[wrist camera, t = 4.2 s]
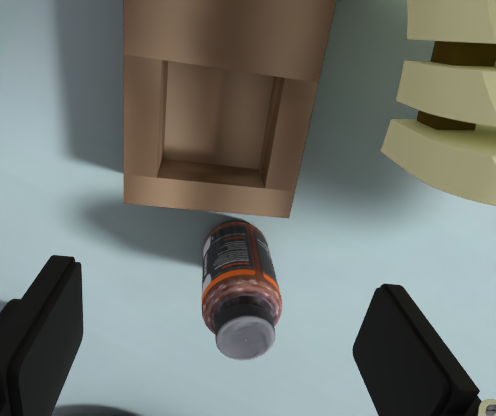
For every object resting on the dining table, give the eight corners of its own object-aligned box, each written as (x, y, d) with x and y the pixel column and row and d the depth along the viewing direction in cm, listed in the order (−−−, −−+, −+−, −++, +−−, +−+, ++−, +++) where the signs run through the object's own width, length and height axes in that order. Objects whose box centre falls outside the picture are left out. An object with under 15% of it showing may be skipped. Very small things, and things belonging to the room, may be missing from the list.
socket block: (350, -178, 22) (386, -231, 17) (278, 191, 32) (289, 218, 27) (142, -231, 20) (123, -305, 16) (136, 177, 30) (123, 203, 26)
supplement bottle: (189, 244, 34) (179, 338, 23) (239, 206, 32) (252, 288, 22) (231, 283, 36) (239, 383, 26) (279, 249, 35) (307, 340, 25)
